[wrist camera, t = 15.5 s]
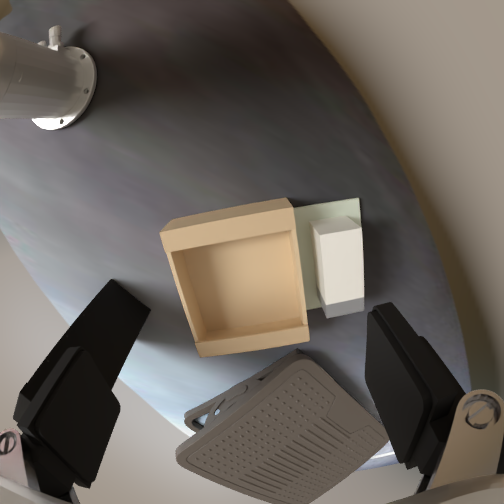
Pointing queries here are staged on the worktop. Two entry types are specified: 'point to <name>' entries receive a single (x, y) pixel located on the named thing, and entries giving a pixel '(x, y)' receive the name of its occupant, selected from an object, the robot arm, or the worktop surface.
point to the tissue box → (95, 338)
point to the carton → (239, 277)
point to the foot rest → (282, 434)
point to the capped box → (338, 265)
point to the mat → (305, 244)
